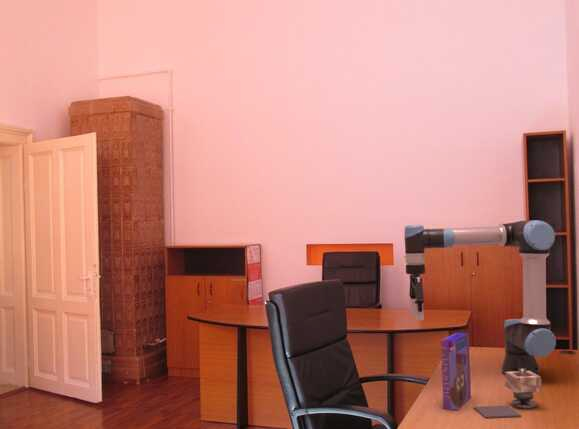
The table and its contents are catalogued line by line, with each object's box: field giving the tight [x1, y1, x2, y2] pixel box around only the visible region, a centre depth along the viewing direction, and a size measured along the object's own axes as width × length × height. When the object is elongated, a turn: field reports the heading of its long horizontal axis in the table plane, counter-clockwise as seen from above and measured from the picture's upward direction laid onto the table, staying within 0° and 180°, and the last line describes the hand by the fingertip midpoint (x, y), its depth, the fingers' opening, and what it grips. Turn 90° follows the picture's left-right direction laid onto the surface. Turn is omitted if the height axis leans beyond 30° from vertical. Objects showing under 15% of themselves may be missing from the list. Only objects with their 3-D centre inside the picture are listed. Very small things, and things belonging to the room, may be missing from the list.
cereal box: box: [440, 331, 472, 412], centre depth 217 cm, size 17×5×24 cm, turn 148°
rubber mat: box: [473, 404, 522, 419], centre depth 206 cm, size 12×11×1 cm
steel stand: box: [511, 368, 537, 410], centre depth 212 cm, size 8×8×13 cm
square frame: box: [504, 371, 543, 393], centre depth 212 cm, size 9×9×5 cm
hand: (417, 317), depth 240 cm, fingers open, 13 cm apart
